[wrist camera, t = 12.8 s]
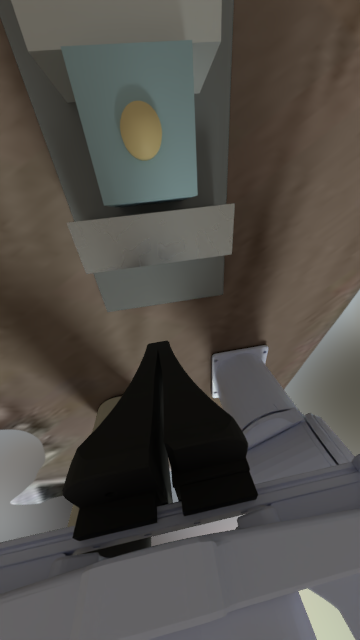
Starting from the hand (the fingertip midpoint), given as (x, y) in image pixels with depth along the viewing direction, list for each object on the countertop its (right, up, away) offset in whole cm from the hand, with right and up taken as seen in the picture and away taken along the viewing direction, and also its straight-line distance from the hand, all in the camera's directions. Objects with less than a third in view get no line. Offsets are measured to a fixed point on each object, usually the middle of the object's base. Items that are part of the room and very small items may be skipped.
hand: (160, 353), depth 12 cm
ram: (-1, +9, +3) cm, 10 cm away
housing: (-1, +13, 0) cm, 13 cm away
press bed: (-1, +12, +2) cm, 12 cm away
